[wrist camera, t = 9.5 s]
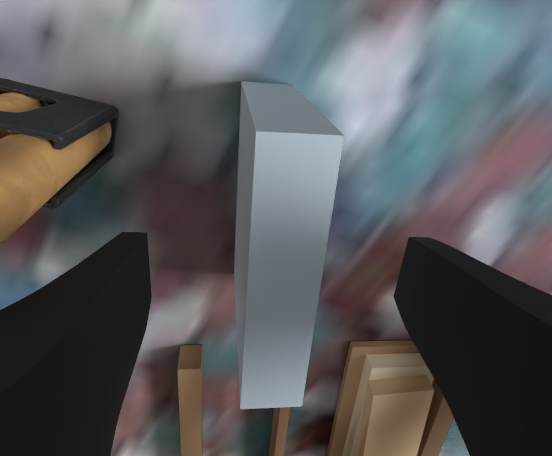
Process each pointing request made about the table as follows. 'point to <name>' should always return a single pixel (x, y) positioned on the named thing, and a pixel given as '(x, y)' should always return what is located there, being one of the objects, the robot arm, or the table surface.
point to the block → (280, 238)
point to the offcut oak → (394, 416)
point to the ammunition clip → (47, 148)
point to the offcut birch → (381, 369)
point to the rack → (192, 407)
